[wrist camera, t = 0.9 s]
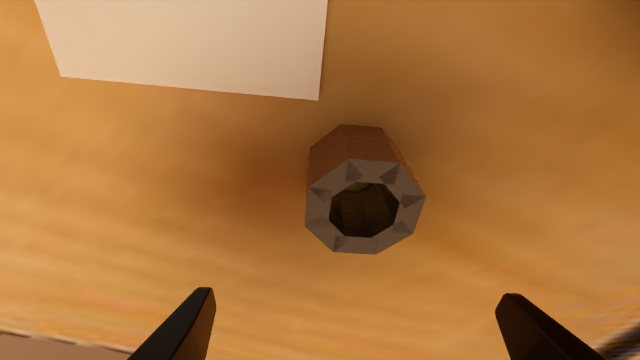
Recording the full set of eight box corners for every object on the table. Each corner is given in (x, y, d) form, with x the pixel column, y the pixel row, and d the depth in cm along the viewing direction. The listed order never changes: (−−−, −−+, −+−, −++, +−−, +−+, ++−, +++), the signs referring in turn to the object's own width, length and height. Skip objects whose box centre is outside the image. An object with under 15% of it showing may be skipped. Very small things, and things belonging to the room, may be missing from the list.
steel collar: (409, 130, 19) (436, 165, 15) (388, 208, 22) (405, 256, 18) (312, 121, 19) (311, 155, 14) (305, 202, 22) (302, 249, 18)
